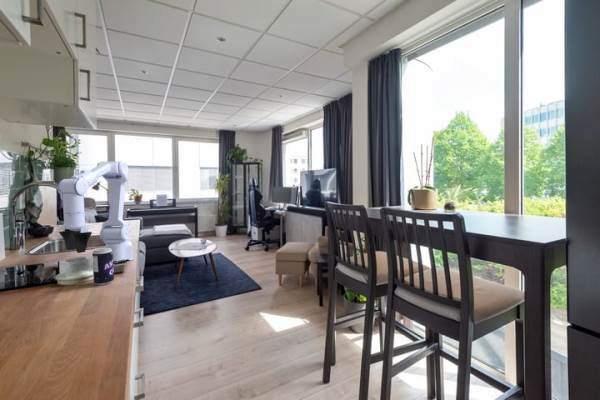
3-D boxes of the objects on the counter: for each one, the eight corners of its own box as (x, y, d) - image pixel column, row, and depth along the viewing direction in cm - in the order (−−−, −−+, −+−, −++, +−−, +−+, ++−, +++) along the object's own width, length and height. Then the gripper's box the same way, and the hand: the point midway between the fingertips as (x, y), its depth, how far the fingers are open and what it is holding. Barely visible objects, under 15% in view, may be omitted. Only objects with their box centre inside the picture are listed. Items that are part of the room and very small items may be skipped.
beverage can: (106, 286, 92) (104, 250, 92) (89, 286, 93) (87, 250, 92) (117, 280, 98) (116, 246, 97) (102, 280, 98) (100, 246, 98)
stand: (89, 272, 107) (89, 266, 107) (105, 277, 101) (104, 270, 101) (49, 282, 97) (49, 275, 97) (64, 288, 91) (63, 280, 90)
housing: (86, 269, 103) (86, 255, 103) (93, 271, 101) (92, 256, 100) (59, 275, 96) (59, 260, 96) (65, 277, 94) (64, 262, 94)
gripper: (51, 213, 98) (53, 251, 98) (69, 215, 90) (71, 256, 91) (75, 211, 104) (77, 247, 105) (94, 213, 96) (96, 251, 97)
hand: (76, 251), depth 98 cm, fingers open, 7 cm apart
